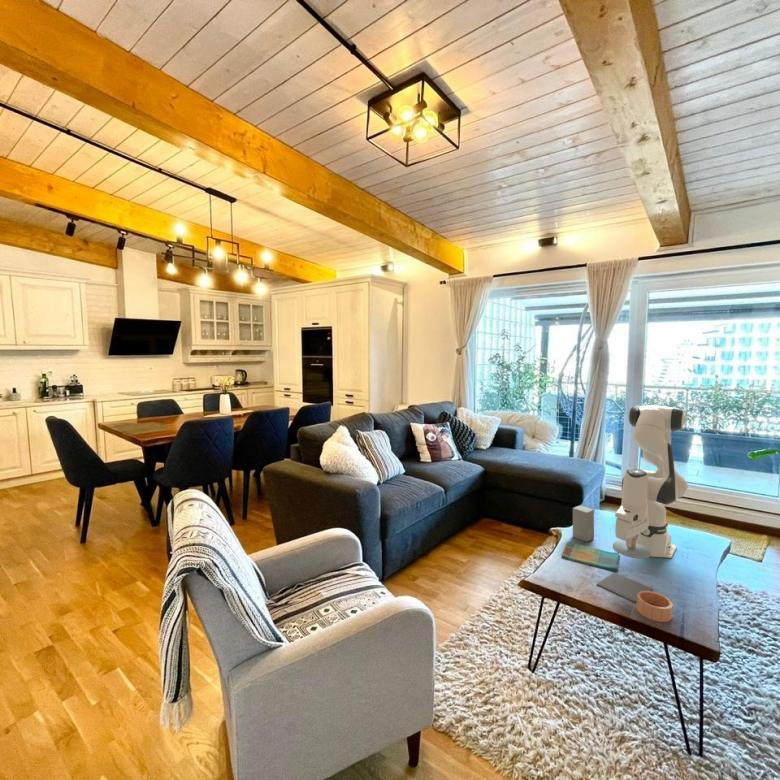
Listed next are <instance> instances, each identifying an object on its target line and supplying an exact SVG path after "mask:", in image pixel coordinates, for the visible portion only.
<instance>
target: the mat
mask: <svg viewBox="0 0 780 780" xmlns="http://www.w3.org/2000/svg"><path fill="white" fill-rule="evenodd" d="M596 586H599V587H601V589H602V588H603V589H604V590H607V591H609V592H610V593H613V594H615V595H617V596H619V597H622V598H624V599H626V600H628V601H629V602H632V603H634V604H636V598H637V593H638V592H640V591H652V592H653V587H650V586H648V585H645V584H643V583H641V582H638V581H636V580H634V579H631V578H628V576H627V577H626V576H624V575H623V574H619V573H618V572H615V571H613V573H611V574H610V575H608V576H607V577H605V578H603V579H602V580H600V581H599V582H597V583H596Z"/></svg>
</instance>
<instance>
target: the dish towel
mask: <svg viewBox="0 0 780 780" xmlns="http://www.w3.org/2000/svg"><path fill="white" fill-rule="evenodd" d="M561 559H563V560H567V561H570V562H575V563H580V564H582V565H583V564H584V565H587V566H591V567H595V568H598V569H604V570H607V571H612V572H615V573H618V572H619V564H620V559H621V554H620V553H618V552H613V551H612V552H611V551H607V550H604V549H599V548H595V547H591V546H587V545H583V544H578V543H574V542H570V541H566V544H565V547H564V549H563V552H562V554H561Z"/></svg>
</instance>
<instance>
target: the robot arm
mask: <svg viewBox="0 0 780 780" xmlns="http://www.w3.org/2000/svg"><path fill="white" fill-rule="evenodd" d="M629 409H630V410H629V411H628V414H627V417H628V422H629V424H630V425H631V426H632V427H635V429H634V432H633V434H634V435H633V440H634V443H635V444H636V446H637V447H639V448H640V450H642V457H643V460H644V461H646V462H647V463H649V464H650V465H652V466H655V468H656V469H657V470H645V469H640V468H629V469H626V471H625V472H624V475H623V478H622V479H621V480H622V481H621V491H622V498H621V504H620V506H619V508H618V509H617V510H616V511H615V514H614V516H615V518H616V519H615V527H614V528H615V537H616V538H617V539H619V540H620V541H626V546H628V547H631V546H632V543H633V542H632V541H631V539H632V537H633V538H635V539H636V544H640V545H642V546H645V547H646V548H648V549H649V550H650V552H651V555H650V557H653V558H654V557H655V558H666V559H672V558H673V557H674V555H675V552H676V550H677V548H678V547H677V545H675V544H674V543H672V535H671V534H670V533H669V532H667V527H668V526H669V522H667V521H666V518H667V516H666V515H667V509H666V507H665V506H667V505H670V504H672V503H674V502H676V501H677V498H681V497H684V496H685V495H686V494H687V492H688V486H689V485H688V482H687V480H686V479H685V478H684V477H683V476H682V475H681V474H679V472H677V470H676V468H675V460H674V459H675V458H674V453H673V447H672V433H675V432H677V431H681V430H682V429H683V427H684V425H685V424H686V415H685V413H684V410H682V408H679V407H675V406H673V407H670V406H664V405H634V406H632V407H631V408H629ZM663 504H664V505H665V506H664V505H663Z"/></svg>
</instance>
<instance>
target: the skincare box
mask: <svg viewBox="0 0 780 780" xmlns="http://www.w3.org/2000/svg"><path fill="white" fill-rule="evenodd" d="M572 538H576V539H579V540H581V541H584V542H586V543H587V542H588V543H589V542H590V541H592V540H594V539H595V510H594V509H592V508H590V507H586V506H583V505H577V506H574V507H573V508H572Z"/></svg>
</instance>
